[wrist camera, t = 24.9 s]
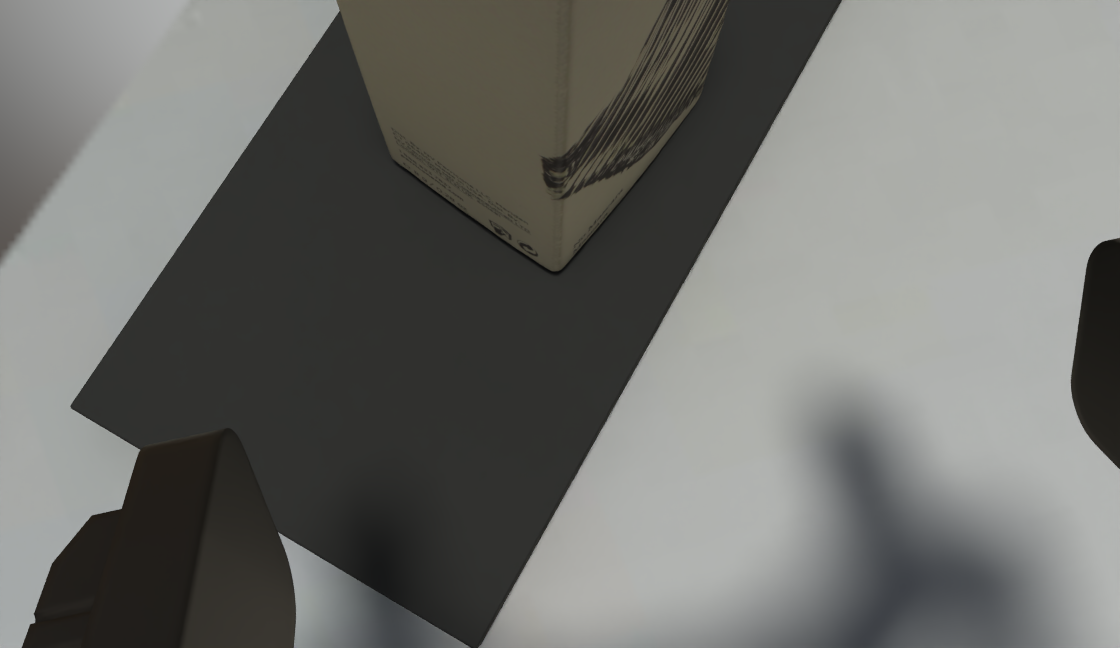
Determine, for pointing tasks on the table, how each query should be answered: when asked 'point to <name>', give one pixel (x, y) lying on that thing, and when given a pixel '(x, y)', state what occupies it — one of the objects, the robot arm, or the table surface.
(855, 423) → the table surface
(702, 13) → the box
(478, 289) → the scrub mat
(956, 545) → the table surface
